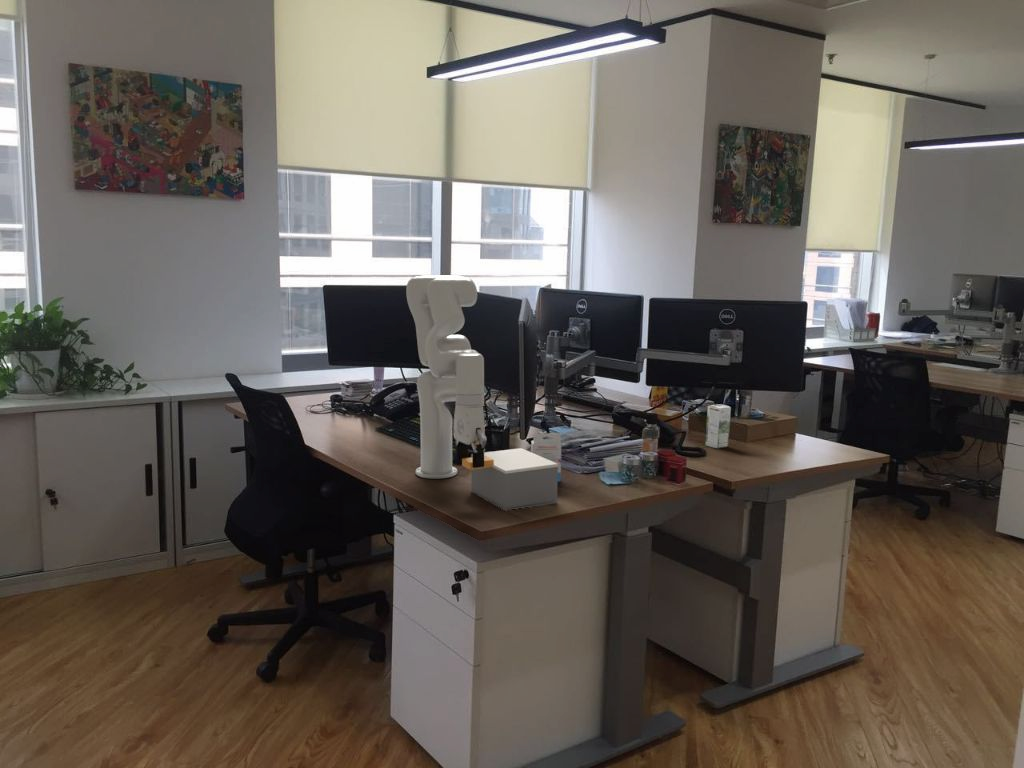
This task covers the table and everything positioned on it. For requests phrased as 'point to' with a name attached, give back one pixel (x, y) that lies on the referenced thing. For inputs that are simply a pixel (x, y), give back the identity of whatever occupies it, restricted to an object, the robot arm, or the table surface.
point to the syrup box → (718, 426)
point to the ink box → (548, 448)
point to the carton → (516, 487)
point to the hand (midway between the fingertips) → (470, 463)
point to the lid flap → (511, 461)
